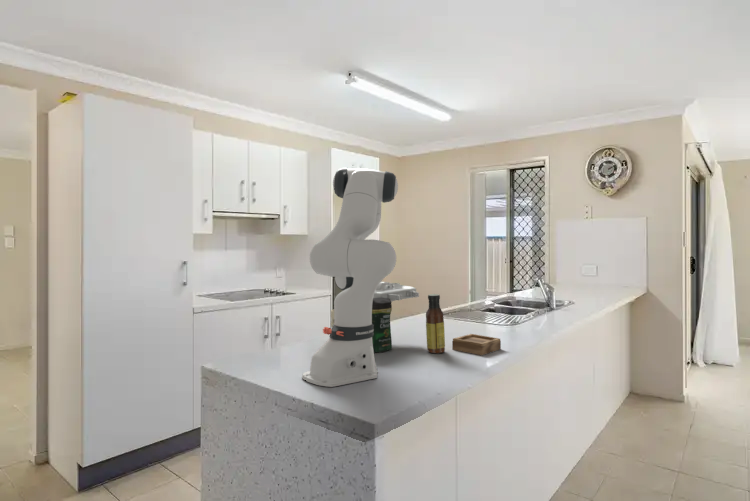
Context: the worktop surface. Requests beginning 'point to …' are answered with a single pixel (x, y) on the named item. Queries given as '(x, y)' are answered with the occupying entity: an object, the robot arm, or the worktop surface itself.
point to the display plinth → (476, 344)
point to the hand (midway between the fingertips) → (409, 296)
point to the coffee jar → (381, 324)
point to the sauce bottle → (435, 326)
